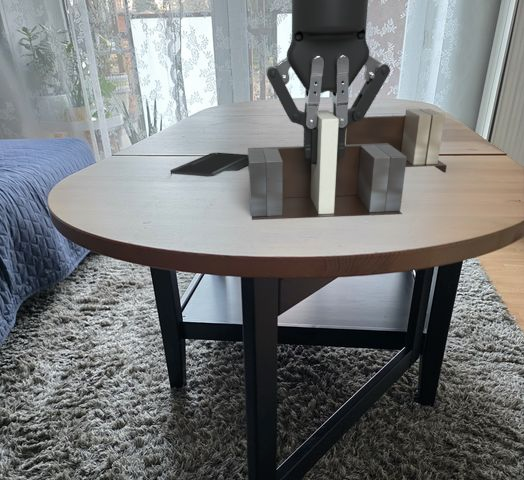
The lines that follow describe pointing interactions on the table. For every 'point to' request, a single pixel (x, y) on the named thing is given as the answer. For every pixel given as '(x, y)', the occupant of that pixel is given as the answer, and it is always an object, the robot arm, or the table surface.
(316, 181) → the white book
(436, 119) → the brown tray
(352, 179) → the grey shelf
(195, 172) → the phone
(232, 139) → the table surface
